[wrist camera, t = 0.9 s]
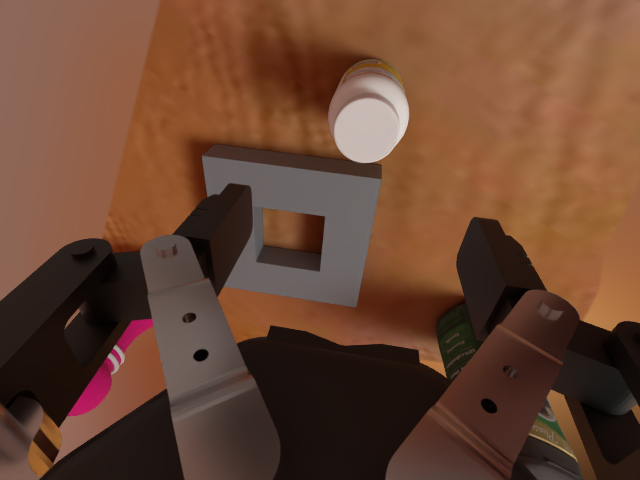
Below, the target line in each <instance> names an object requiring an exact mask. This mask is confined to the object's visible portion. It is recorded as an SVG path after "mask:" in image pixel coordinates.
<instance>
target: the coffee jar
mask: <svg viewBox="0 0 640 480" xmlns="http://www.w3.org/2000/svg"><path fill="white" fill-rule="evenodd" d="M436 334H437V339H438V343H439V349H440V352H441V356H442V360H443V364H444V368H445V372H446V376H447V379H448V380H449V381H451V382H453V381H454V380H455V379H456V377H457V376H458V375H459V373H460V372H461V371H462V370H463V368H464V367H465V366H466V364H467V363H468V362H469V361H470V359H471V358H472V357H473V355H474V354H475V353H476V352H477V350H478V349H479V348H480V346H481V345H482V344H483V343H484V341H479V340H476V336H475V333H474V329H473V325H472V322H471V318H470V315H469V311H468V307H467V304H466V303H463V304H461V305H458V306H456V307H454V308H452V309H451V310H449V311H448V312H447V313H445V314H444V315H443V316H442V317H441V318H440V319H439V321H438V322H437V324H436ZM518 458H519V459H520V460H521V461H522V462H523V463H524V464H525V466H526V467H527V468H528V469H529V470H530V471H531V473H532V474H533V475H534V476H535V477H536V478H537V479H538V480H583V476H582V473H581V470H580V467H579V464H578V462H577V459H576V457H575V455H574V453H573V451H572V449H571V448H570V446H569V444H568V442H567V440H566V439H565V437H564V435H563V433H562V431H561V429H560V427H559V425H558V423H557V420H556V418H555V416H554V413H553V411H552V409H551V406H550V403H549V401H548V398H546V400H545V402H544V404H543V406H542V408H541V410H540V412H539V414H538V416H537V418H536V420H535V422H534V424H533V426H532V428H531V430H530V432H529V435H528V437H527V439H526V441H525V443H524V445H523V447H522V449H521V451H520V453H519V455H518Z"/></svg>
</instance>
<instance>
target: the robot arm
mask: <svg viewBox="0 0 640 480" xmlns="http://www.w3.org/2000/svg"><path fill="white" fill-rule="evenodd" d="M252 229H253V210H252V191H251V187H250V186H249V185H242V184H234V183H229V184H228V185H227V186H226V187H225V188H224V190H223V191H222V192H221V193H220V195H218V194H213V195H211V196H209V197H207V198H205V199H204V200H202V201H201V202H200V204H199V205H198V206H197V207H196V209H194V210H193V212H192V213H191V214H190V216H188V217H187V218H186V220H185V221H184V222H183V223H182V224H181V225H180V226H179V228H178V229H177V230H176V231H175V232H174V233H173V234H172V235H165V236H160V237H157V238H154V239H152V240H150V241H148V242H147V243H146V244H144V245H143V247H142V248H141V251H137V252H121V253H113V250H112V247H111V245H110V243H109V242H107V241H105V240H103V239H96V238H93V239H92V238H91V239H83V240H79V241H76V242H73V243H70V244H68V245H66V246H64V247H63V248H61V249H60V250H59V251H58V252H57V253H55V254H54V255H53V256H52V257H51V258H50V259H48V260H47V261H46V262H45V263H44V264H43V265H42V266H40V267H39V268H38V269H37V270H36V271H35V272H33V273H32V274H31V275H30V276H29V277H28V278H27V279H26V280H24V281H23V282H22V283H21V284H20V285H18V286H17V287H16V288H15V289H14V290H13V291H12V292H10V293H9V294H8V295H7V296H6V297H5V298H3V299H2V300H1V301H0V480H538V479H537V478H536V477H535V476H534V475H533V474H532V473H531V471H530V470H529V469H528V468H527V467H526V466H525V464H524V463H523V462H522V461H521V460H520V459H519V458H518V455H519V453H520V451H521V449H522V447H523V445H524V443H525V441H526V439H527V437H528V435H529V432H530V430H531V428H532V426H533V424H534V422H535V420H536V418H537V416H538V414H539V412H540V410H541V408H542V406H543V404H544V402H545V400H546V398H547V396H548V394H549V392H550V390H554V391H556V392H558V393H561V394H563V395H564V396H565V399H566V402H567V404H568V407H569V409H570V412H571V414H572V417H573V419H574V422H575V425H576V427H577V430H578V432H579V435H580V437H581V440H582V442H583V445H584V447H585V450H586V452H587V455H588V457H589V460H590V462H591V465H592V467H593V470H594V473H595V475H596V478H597V480H640V424H639V423H638V421H637V419H636V417H635V416H634V413H633V412H632V410H631V408H633V407H634V406H635V405H636V404H637V403H638V405H639V407H640V323H637V322H631V321H624V322H621V323H619V324H617V326H616V327H615V328H614V329H613V330H612V331H608V330H605V329H603V328H600V327H597V326H594V325H592V324H589V323H586V322H583V321H581V320H580V316H579V314H578V312H577V310H576V309H575V308H574V307H573V306H572V305H571V304H570V303H569V302H568V301H566V300H565V299H563V298H562V297H560V296H558V295H556V294H554V293H551V292H548V291H547V290H546V288H545V286H544V284H543V283H542V281H541V279H540V277H539V275H538V274H537V272H536V270H535V268H534V267H533V266H532V263H531V261H530V259H529V258H527V254H526V252H525V251H524V249H523V247H522V245H520V244H519V243H518V242H517V241H516V240H515V239H513V238H512V237H511V236H507V235H505V233H504V231H503V229H502V227H501V225H500V223H499V222H498V220H494V219H486V218H479V217H474V218H473V219H472V220H471V222H470V224H469V226H468V229H467V231H466V234H465V236H464V239H463V242H462V244H461V247H460V249H459V252H458V255H457V262H456V266H457V271H458V275H459V278H460V282H461V286H462V289H463V293H464V296H465V300H466V304H467V307H468V311H469V315H470V318H471V322H472V325H473V329H474V333H475V336H476V340H479V341H484V343H483V344H482V345H481V346H480V348H479V349H478V350H477V352H476V353H475V354H474V355H473V357H472V358H471V359H470V361H469V362H468V363H467V364H466V366H465V367H464V368H463V370H462V371H461V372H460V373H459V375H458V376H457V377H456V379H455V380H454V381H453V382H451V381H449V380H448V379H447V378H446V377H444V376H443V375H442V374H440V373H439V372H437V371H435V370H434V369H432V368H430V367H428V366H426V365H424V364H422V363H420V362H419V351H418V350H415V349H409V348H403V347H397V346H391V345H385V344H370V345H351V346H343V345H339V344H336V343H334V342H331V341H329V340H326V339H324V338H321V337H319V336H316V335H314V334H311V333H309V332H306V331H301V330H295V329H289V328H283V327H277V326H270V329H269V332H268V335H267V337H258V338H252V339H248V340H245V341H242V342H239V343H237V344H236V341H235V339H234V337H233V334H232V332H231V329H230V327H229V325H228V322H227V320H226V318H225V315H224V313H223V310H222V308H221V306H220V303H219V301H218V298H217V297H218V296H219V294H220V292H221V290H222V288H223V286H224V285H225V283H226V281H227V279H228V277H229V275H230V273H231V272H232V270H233V268H234V266H235V264H236V262H237V261H238V259H239V257H240V255H241V253H242V251H243V250H244V248H245V246H246V244H247V242H248V240H249V238H250V236H251V233H252ZM78 308H79V310H80V312H79V313H78V315H77V316H76V317H75V318H74V319H73V320H72V322H71V323H70V324H69V325H68V326H67V327H66V329H65V326H66V323H67V321H68V320H69V318H70V317H71V316H72V315H73V314H74V313H75V312H76V310H77V309H78ZM145 319H152V320H153V325H154V329H155V334H156V339H157V343H158V348H159V353H160V358H161V362H162V367H163V372H164V377H165V381H166V387H167V389H165V390H164V391H162V392H160V393H159V394H158V395H156V396H154V397H153V398H152V399H150V400H149V401H147V402H146V403H144V404H142V405H141V406H140V407H138V408H136V409H135V410H134V411H132V412H131V413H129V414H128V415H126V416H124V417H123V418H121V419H120V420H118V421H117V422H115V423H114V424H112V425H111V426H109V427H108V428H106V429H105V430H103V431H102V432H101V433H99V434H97V435H96V436H94V437H93V438H91V439H90V440H88V441H87V442H85V443H84V444H82V445H81V446H79V447H78V448H76V449H75V450H73V451H72V452H70V453H69V454H68V455H66V456H65V457H63V458H62V459H61V460H59V461H58V462H57V463H56V464H55V465H54V461H55V459H56V457H57V455H58V453H59V451H60V447H61V444H62V434H61V431H60V430H59V427H60V426H61V424H62V422H63V421H64V420H65V418H66V417H67V415H68V414H69V412H70V411H71V409H72V408H73V407H74V405H75V404H76V402H77V401H78V399H79V398H80V396H81V395H82V393H83V392H84V390H85V389H86V387H87V386H88V385H89V383H90V382H91V380H92V379H93V377H94V376H95V374H96V373H97V371H98V370H99V368H100V367H101V366H102V364H103V363H104V361H105V360H106V358H107V357H108V355H109V354H110V352H111V351H112V349H113V348H114V346H115V345H116V344H117V342H118V341H119V339H120V338H121V336H122V335H123V333H124V332H125V330H126V329H127V327H128V326H129V324H130V323H131V322H132V321H135V320H145ZM64 329H65V330H64Z"/></svg>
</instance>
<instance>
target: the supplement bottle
mask: <svg viewBox="0 0 640 480" xmlns="http://www.w3.org/2000/svg"><path fill="white" fill-rule="evenodd" d="M408 120H409V108H408V103H407V99H406V95H405V91H404V86H403V83H402V80H401V78H400V76H399V74H398V73H397V71H396V70H395V69H394V68H393V67H392V66H391V65H390V64H388V63H386V62H384V61H381V60H377V59H367V60H363V61H360V62H358V63H356V64H354V65H353V66H351V67H350V68H349V69H348V70H347V71H346V72H345V74H344V75H343V77H342V79H341V81H340V83H339V85H338V87H337V89H336V92H335V94H334V96H333V98H332V100H331V103H330V107H329V113H328V123H329V128H330V131H331V134H332V136H333V138H334V140H335V143H336V145H337V147H338V149H339V150H340V151H341V152H342V154H343V155H345V156H346V157H347V158H349V159H351V160H353V161H356V162H359V163H371V162H375V161H378V160H380V159H382V158H384V157H385V156H387V155H388V154H389V153H390V152H391V151H392V150H393V148H394V147H395V145H396V144H397V143H398V142H399V141H400V140H401V138H402V137H403V135H404V133H405V131H406V128H407V125H408Z"/></svg>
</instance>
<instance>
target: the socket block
mask: <svg viewBox="0 0 640 480" xmlns="http://www.w3.org/2000/svg"><path fill="white" fill-rule="evenodd" d="M202 161H203V168H204V176H205V183H206V190H207V197H209V196H211V195H213V194H218V195H220V193H221V192H222V191H223V190H224V188H225V187H226V186H227V185H228V184H229V183H234V184H242V185H249V186H250V187H251V191H252V210H253V229H252V233H251V236H250V238H249V240H248V242H247V244H246V246H245V248H244V250H243V251H242V253H241V255H240V257H239V259H238V261H237V262H236V264H235V266H234V268H233V270H232V272H231V273H230V275H229V277H228V279H227V281H226V283H225V285H224V286H223V287H230V288H236V289H242V290H249V291H255V292H261V293H267V294H274V295H280V296H286V297H293V298H299V299H305V300H311V301H318V302H324V303H330V304H337V305H343V306H349V307H355V308H356V306H357V301H358V296H359V291H360V286H361V281H362V276H363V271H364V266H365V261H366V256H367V251H368V245H369V240H370V235H371V230H372V225H373V220H374V215H375V210H376V205H377V200H378V195H379V189H380V184H381V176H382V165H376V164H368V163H359V162H353V161H345V160H337V159H329V158H321V157H313V156H306V155H298V154H290V153H282V152H274V151H266V150H258V149H251V148H243V147H235V146H227V145H219V144H214V145H213V146H212V147H211V148H210V149H209V150H208V151H207V152H205V153H204V154H203V155H202ZM262 208H269V209H276V210H283V211H290V212H297V213H305V214H312V215H319V216H325V224H324V235H323V245H322V254H316V253H309V252H303V251H296V250H289V249H282V248H276V247H269V246H264V244H263V212H262Z"/></svg>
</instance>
